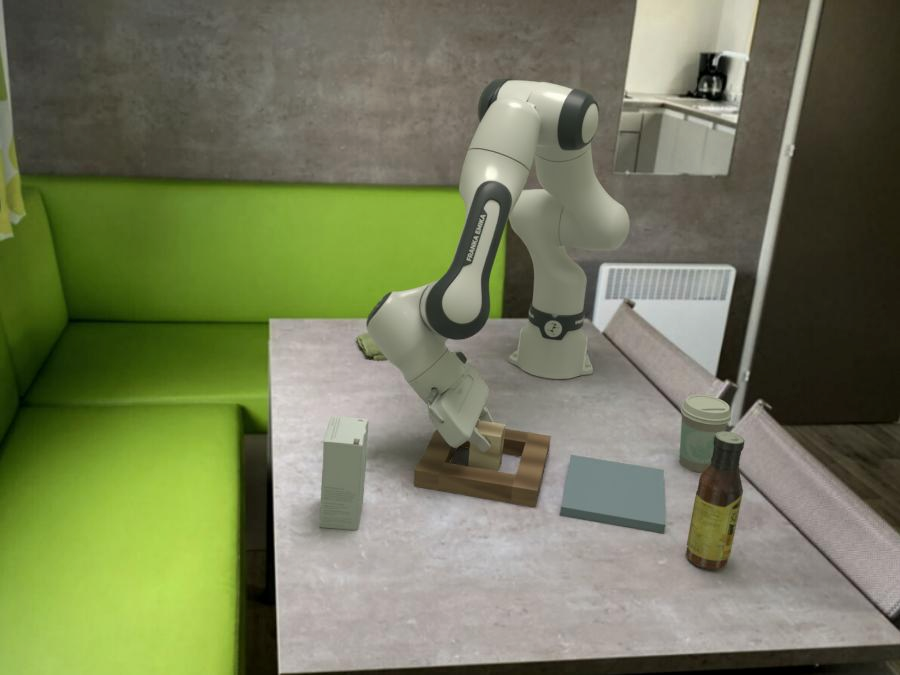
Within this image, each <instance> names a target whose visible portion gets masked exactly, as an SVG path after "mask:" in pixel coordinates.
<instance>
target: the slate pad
mask: <svg viewBox="0 0 900 675" xmlns="http://www.w3.org/2000/svg"><path fill="white" fill-rule="evenodd" d="M664 471H665V470H664V469H661V468H656V467H655V468H654V467H649V466H642V465H637V464H631V463H624V462H619V461H612V460H608V459H607V460H605V459H601V458H600V459H599V458H594V457H589V456H588V457H587V456H583V455H582V456H581V455H575V454H570V458H569V463H568V469H567V473H566V479H565V484H564V490H563V495H562V496H563V497H562V501H561V508H560V513H559V514H560V516H563V517H568V518H569V517H570V518H575V519H581V520H587V521H592V522H593V521H594V522H597V523H604V524H609V525H614V526H621V527H625V528H632V529H637V530H644V531H648V532H654V533H655V532H656V533H661V534H665V530H666V506H665V505H666V502H665V501H666V499H665V472H664Z"/></svg>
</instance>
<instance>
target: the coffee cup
mask: <svg viewBox="0 0 900 675" xmlns="http://www.w3.org/2000/svg"><path fill="white" fill-rule="evenodd" d="M680 411H681V424H680V426H681V427H680V441H679V442H680V444H679V458H678V459H679V460H678V461H679V464H680V465H681V466H682V467H683V468H685V469H687V470H688V471H692V472H697V473H702V472H703V471H704V470H705V469H706V468H707V467H708V466H709V465H710V464H711V458H712V455H713V450H714V443H713V442H714V437H715V434H716V433H718V432H722V431H727V426H728V423H729V422H730V421H731V420H732V413H731V408H730V405H729V404H728V403H727V402H726V401H725V400H722V399H720V398H717V397H715V396H711V395H704V394H694V395H693V394H692V395H690V396H687V397H686V398H685V401H684V402H683V403H682V405H681V407H680Z"/></svg>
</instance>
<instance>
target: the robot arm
mask: <svg viewBox="0 0 900 675" xmlns="http://www.w3.org/2000/svg"><path fill="white" fill-rule="evenodd" d="M477 118H478V122H479V124H478V127H477V128H476V131H475V132H474V135H473V137H472V140H471V143H470V145H469V147H468V150H467V153H466V155H465V159H464V162H463V165H462V170H461V174H460V180H459V187H458V190H459V195H460V198H461V199H462V201H463V203H464V206H465V219H464V223H463V228H462V231H461V234H460V237H459V239H458V243H457V246H456V249H455V252H454V255H453V258H452V260H451V264H450V266H449V268H448V269H447V271H446V272H445V273H444V274H443V275H442V277H441V278H440V279H437V280H434V281H432V282H430V283H426V284H424V285H421V286H418V287H414V288H411V289H406V290H401V291H399V290H398V291H390V292H388V293H386V294H385V295H384V296H383V297H382V299H380V300H379V301H378V302H377V303H376V305H375V306H373V308H372V310H371V311H370V313H369V314H368V316H367V319H366V324H365V325H366V330H367V333H369V335H370V337H371V338H372V340H373V341H374V343H375V344H376V345H377V347H378V348H379V349H380V351H381V352H382V353H383V354H384V356H385V357H386V358H387V359H388V360H387V361H389V363H390V364H392V365H393V366H395V367H396V368H397V369H398V370H399V371H400V373H401V374H402V375H403V378H404V381H405V382H406V383H407V384H408V385H409V386H410V387H411V388H412V390H413V391H414V392H415V394H417V395H418V396H419V398H420V399H421V400H422V401H423V402H424V403H425V404H426V405H427V415H428V418H429V420H430V421H431V423H432V425H433V426H434V427H435V430H436V429H437V430H438V432H439V433H440V434H441V436H442V437H443V438H444V440H445V441H446V442H447V443H448V444H449V445H450V446H452V447H453V448H459V446H460V445H462V444H463V443H465V442H466V441H469V442H471V443H473V444H474V445H476V446H477V447H478V448H479V449H480V450H481V451H482V452H485V451H487V450H488V449H490V447H491V441H490V440H489V439H488V438H487V437H486V436H485V437H483V436H482V435H481V434H480V433H478V429H477V428H476V427H475V425H476V423H477V421H478V420H481V421H487V422H494V423H496V422H495V421H494V420H493V417H492V416H491V412H489V408H488V407H487V406H486V403H487V400H488V397H489V396H490V389H489V387H488V385H487V383H486V382H485V380H484V379H483V377H481V375H480V373H479V372H478V371H477V370H476V369H475V367H474V366H473V365H472V364H471V363H470V362H468V360H469V358H468V356H467V355H466V353H465V352H464V351H462V350H461V349H460V350H456V351H451V350H450V349H449V347H447V346H446V341H448V340H454V341H455V340H456V341H457V340H458V341H462V340H466V339H467V340H468V339H469V338H471V337H473V336H475V335H477V334H478V333H479V332H480V331H481V330H482V329H483V328H484V326H485V325H486V323H487V322H488V319H489V317H490V312H491V296H490V294H491V293H490V278H491V273H492V269H493V266H494V263H495V259H496V256H497V253H498V249H499V247H500V244H501V240H502V237H503V234H504V230H505V228H506V224H507V223H508V220H509V224H510V227H511V229H512V230H513V232H514V233H515V234H516V235H517V236H518V237H519V238H520V240H521V241H522V243H523V244H524V245H525V247H526V249H527V251H528V252H529V256H530V258H531V261H532V265H533V274H534V275H533V277H534V279H533V291H532V292H533V295H532V302H531V303H530V304H529V309H528V322H527V323H526V324H524V325H523V326H522V327H520V330H519V331H520V332H519V338H518V346H517V349H516V350H515V351H513V352H512V353H511V354H510V355H509V357H508V362H509V363H510V364H512V365H516V366H517V367H519V369H521V370H522V371H524V372H526V373H527V374H530V375H533V376H536V377H539V378H544V379H554V380H559V379H560V380H565V379H573V378H577V377H578V376H587V375H593V374H594V373H593V372H594V368H593V365H592V362H591V360H590V357H589V354H588V348H587V346H588V342H589V340H588V336H587V334H586V332H585V331H584V330H583V327H584V323H585V322H584V321H585V317H586V315H585V314H586V313H585V309H584V307H585V306H584V304H585V298H586V291H587V282H588V280H587V274H586V272H585V271H584V269H583V268H582V267H581V266H580V265H579V264H578V263H577V262H575V261H574V260H573V259H572V258H571V256H569V255H568V252H567V250H566V247H568V248H569V247H570V248H575V249H579V250H586V251H591V252H610V251H616V250H617V249H619V248H620V247H621V246H622V245H623V244H624V242H625V241H626V240H627V238H628V234H629V232H630V224H631V222H630V217H629V214H628V212H627V210H626V209H627V208H625V206H624V205H622V204H621V203H619V201H616V200H615V199H614V198H613V197H612V196H610V194H608V192H607V191H606V190H605V189H604V187H603V186H602V185H601V182H599V180H598V178H597V176H596V173H595V170H594V162H593V155H592V140H593V139H594V137H595V134H596V132H597V128H598V126H599V120H600V119H599V118H600V109H599V104H598V102H597V100H596V98H594V96H593V95H592V94H591V93H589V92H587V91H584V90H582V89H580V88H570V87H568V86H563V85H560V84H555V83H552V82H547V81H534V80H533V81H531V80H516V79H515V80H514V78H511V77H509V78H505V77H504V78H496V79H493V80H492V81H491V82H489V84H487V86H485V88H484V89H483V90H482V92H481V94H480V97H479V100H478V106H477ZM533 163H535V172H536V178H537V180H538V183H539V184H540V186H541V188H535V189H534V188H532V189H524V188H525V185H526V183H527V182H528V178H529V175H530V172H531V169H532V166H533Z"/></svg>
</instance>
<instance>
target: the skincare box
mask: <svg viewBox="0 0 900 675" xmlns="http://www.w3.org/2000/svg"><path fill="white" fill-rule="evenodd" d="M368 432H369V419H368V418H358V417H345V416H338V415H331V416H330V419H329V422H328V425H327V428H326V432H325V436H324V438H323V448H322V449H323V450H322V469H321V470H322V471H321V488H320V509H319V527H320V528H327V529H335V530H336V529H338V530H349V531H358V530H359V527H360V526H359V525H360V523H361V521H360V520H361V517H362V511H363V503H364V496H365V495H364V493H365V482H366V481H365V478H366V466H367V465H366V464H367V450H368V436H369V435H368Z"/></svg>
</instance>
